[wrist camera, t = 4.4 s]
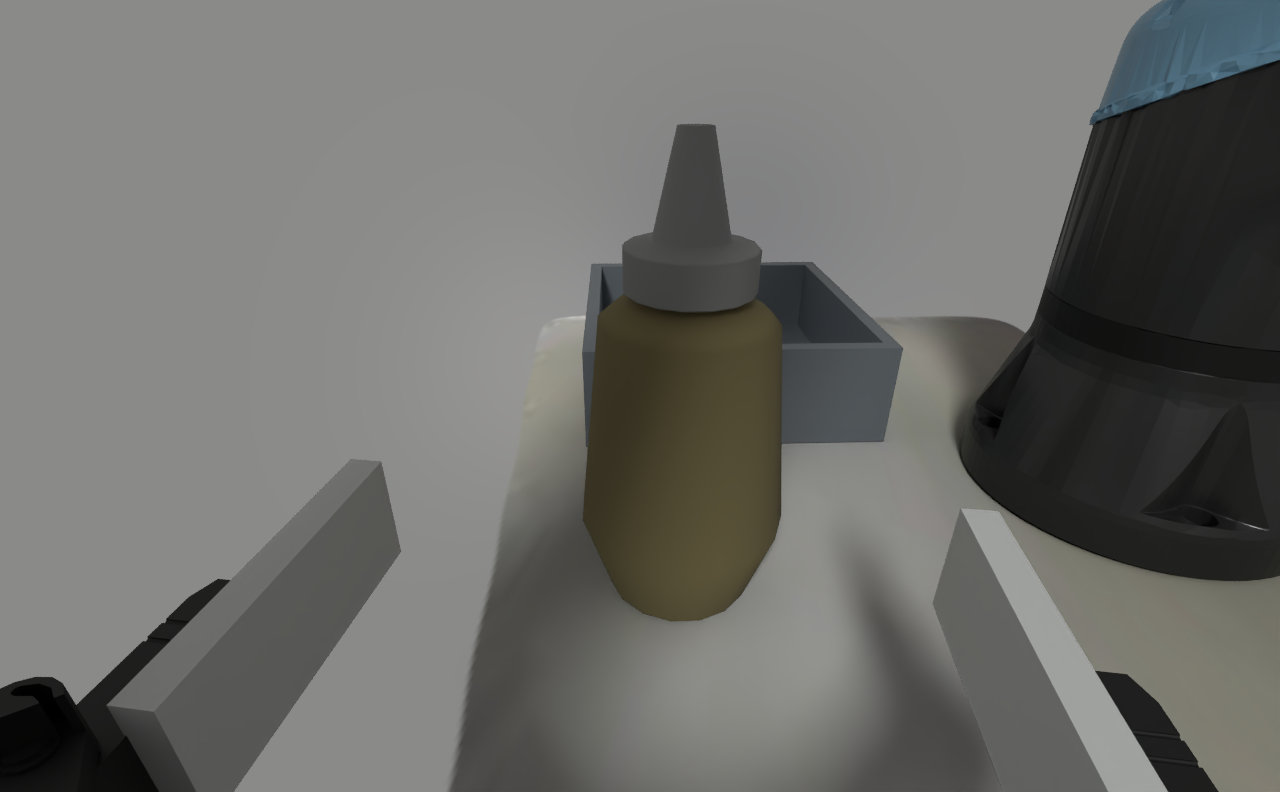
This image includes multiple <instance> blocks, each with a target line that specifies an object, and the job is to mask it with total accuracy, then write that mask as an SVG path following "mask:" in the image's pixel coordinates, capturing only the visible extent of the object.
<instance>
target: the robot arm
mask: <svg viewBox="0 0 1280 792" xmlns="http://www.w3.org/2000/svg"><path fill="white" fill-rule="evenodd" d="M1089 125H1093V128H1092V131H1091V135H1090V138H1089V141H1088V145H1087V148H1086V151H1085V155H1084V158H1083V161H1082V164H1081V168H1080V171H1079V174H1078V178H1077V181H1076V184H1075V188H1074V191H1073V194H1072V198H1071V201H1070V204H1069V207H1068V211H1067V214H1066V217H1065V221H1064V224H1063V227H1062V231H1061V234H1060V237H1059V241H1058V244H1057V247H1056V250H1055V254H1054V257H1053V260H1052V264H1051V267H1050V270H1049V274H1048V277H1047V280H1046V284H1045V288H1044V291H1043V294H1042V297H1041V301H1040V304H1039V307H1038V310H1037V313H1036V316H1035V319H1034V321H1033V323H1032V325H1031V327H1030V328H1029V330H1028V331H1027V332H1026V334H1025V335H1024V336H1023V338H1022V339H1021V340H1020V342H1019V343H1018V344H1017V346H1016V347H1015V348H1014V350H1013V351H1012V353H1011V354H1010V355H1009V357H1008V358H1007V359H1006V361H1005V362H1004V363H1003V365H1002V366H1001V367H1000V369H999V370H998V371H997V373H996V374H995V375H994V377H993V378H992V379H991V381H990V382H989V383H988V385H987V386H986V388H985V389H984V390H983V392H982V393H981V394H980V396H979V397H978V398H977V400H976V401H975V402H974V404H973V406H972V408H971V410H970V413H969V416H968V419H967V423H966V427H965V430H964V434H963V437H962V441H961V455H962V459H963V461H964V463H965V465H966V467H967V469H968V471H969V472H970V474H971V475H972V476H973V478H974V479H975V480H976V481H977V482H978V483H979V484H980V486H981V487H983V488H984V489H985V490H986V491H987V492H988V493H989V494H990V495H991V496H992V497H994V498H995V499H996V500H997V501H999V502H1000V503H1001V504H1002V505H1004V506H1005V507H1007V508H1008V509H1009V510H1011V511H1012V512H1014V513H1015V514H1017V515H1019V516H1020V517H1022V518H1023V519H1025V520H1027V521H1028V522H1030V523H1032V524H1034V525H1035V526H1037V527H1039V528H1041V529H1043V530H1045V531H1047V532H1049V533H1051V534H1053V535H1055V536H1057V537H1059V538H1061V539H1063V540H1066V541H1068V542H1070V543H1072V544H1075V545H1077V546H1079V547H1082V548H1084V549H1087V550H1089V551H1092V552H1095V553H1097V554H1100V555H1103V556H1106V557H1109V558H1112V559H1115V560H1118V561H1121V562H1125V563H1128V564H1131V565H1135V566H1139V567H1142V568H1146V569H1150V570H1154V571H1159V572H1163V573H1168V574H1173V575H1178V576H1185V577H1191V578H1199V579H1207V580H1221V581H1249V580H1260V579H1266V578H1272V577H1276V576H1280V0H1162V1H1161V2H1159V3H1158V4H1156V5H1154V6H1153V7H1152V8H1150V9H1149V10H1148V11H1147V12H1146V13H1145V14H1144V15H1143V16H1141V17H1140V18H1139V20H1138V21H1137V22H1136V23H1135V24H1134V25H1133V27H1132V28H1131V30H1130V31H1129V33H1128V35H1127V36H1126V39H1125V40H1124V43H1123V45H1122V47H1121V50H1120V53H1119V56H1118V58H1117V61H1116V64H1115V67H1114V69H1113V72H1112V74H1111V77H1110V80H1109V83H1108V85H1107V88H1106V91H1105V93H1104V96H1103V99H1102V101H1101V104H1100V107H1099V109H1098V110H1097V111H1096V112H1094V113H1093V115H1092V117H1091V120H1090V124H1089ZM400 552H401V549H400V545H399V540H398V535H397V531H396V526H395V522H394V517H393V513H392V509H391V503H390V499H389V494H388V490H387V485H386V481H385V477H384V472H383V467H382V463H381V462H380V461H367V460H354V459H351V460H350V461H349V462H348V463H347V464H346V465H345V466H344V467H343V468H342V469H341V470H340V471H339V472H338V473H337V474H336V475H335V476H334V477H333V478H332V479H331V480H330V481H329V482H328V483H327V484H326V485H325V486H324V487H323V488H322V489H321V490H320V491H319V492H318V493H317V494H316V495H315V496H314V497H313V498H312V499H311V500H310V501H309V502H308V503H307V504H306V505H305V506H304V507H303V508H302V509H301V510H300V511H299V512H298V513H297V514H296V515H295V516H294V517H293V518H292V519H291V520H290V521H289V522H288V523H287V524H286V525H285V526H284V527H283V528H282V529H281V530H280V531H279V532H278V533H277V534H276V535H275V536H274V537H273V538H272V539H271V540H270V541H269V542H268V544H266V545H265V547H263V548H262V550H260V552H258V553H257V554H256V555H255V556H254V557H253V559H251V561H249V562H248V563H247V564H246V565H245V567H244V568H243V569H242V570H241V571H240V572H239V573H238V574H237V575H236V576H235V577H234V578H233V579H232V580H223V579H217V580H216V581H214V582H212V583H211V584H209V585H208V586H206V587H204V588H203V589H201V590H200V591H198V592H196V593H195V594H193V595H191V596H190V597H189V598H188V599H186V600H185V601H184V602H183V603H182V604H181V605H180V606H179V607H178V608H177V609H176V610H175V611H174V612H173V613H172V614H171V615H170V616H169V617H168V618H167V619H166V622H165V623H161V625H159V626H158V628H156V629H155V630H154V631H153V632H152V633H151V634H150V635H149V636H148V640H147V641H146V642H145V641H143V642H142V643H141V644H139V645H138V647H136V648H135V649H134V650H133V652H131V653H130V654H129V655H128V656H127V657H126V658H125V659H124V660H123V661H122V662H121V663H120V664H119V665H118V666H117V667H116V668H115V669H113V670H112V671H111V672H110V674H108V675H107V676H106V677H105V678H104V679H103V680H102V681H101V682H100V683H99V684H98V685H97V686H96V687H95V688H94V689H93V690H92V691H91V692H89V693H88V694H87V695H86V696H85V697H84V698H83V699H82V700H81V701H80V702H79V703H78V704H77V705H76V704H75V703H74V701H73V699H72V698H71V697H70V695H69V693H68V691H67V690H66V688H65V687H64V685H63V683H61V682H60V681H58V680H56V679H55V678H53V677H34V678H30V679H26V680H22V681H18V682H14V683H12V684H10V685H8V686H5V687H3V688H1V689H0V792H233V791H234V790H235V789H236V788H237V786H238V784H239V783H240V782H241V780H242V779H243V777H244V776H245V775H246V773H247V772H248V770H249V769H250V767H251V766H252V765H253V763H254V762H255V760H256V759H257V757H258V756H259V754H260V753H261V751H262V750H263V749H264V747H265V746H266V744H267V743H268V742H269V740H270V738H271V737H272V736H273V734H274V733H275V732H276V730H277V729H278V727H279V726H280V724H281V723H282V722H283V720H284V719H285V717H286V716H287V714H288V713H289V712H290V710H291V709H292V707H293V706H294V704H295V703H296V701H297V700H298V699H299V697H300V696H301V694H302V693H303V691H304V690H305V688H306V687H307V686H308V684H309V683H310V681H311V680H312V679H313V677H314V676H315V674H316V673H317V671H318V670H319V668H320V667H321V666H322V664H323V663H324V661H325V660H326V658H327V657H328V656H329V654H330V652H331V651H332V650H333V648H334V647H335V645H336V644H337V643H338V641H339V640H340V638H341V637H342V635H343V634H344V633H345V631H346V630H347V628H348V627H349V625H350V624H351V623H352V621H353V619H354V618H355V617H356V615H357V614H358V612H359V611H360V610H361V608H362V607H363V605H364V604H365V602H366V601H367V600H368V598H369V597H370V595H371V594H372V592H373V591H374V590H375V588H376V587H377V585H378V584H379V582H380V581H381V580H382V578H383V577H384V575H385V574H386V572H387V571H388V569H389V568H390V567H391V565H392V564H393V562H394V561H395V559H396V558H397V557H398V555H399V554H400ZM933 606H934V608H935V611H936V614H937V616H938V619H939V622H940V624H941V627H942V630H943V632H944V635H945V638H946V640H947V643H948V646H949V648H950V651H951V654H952V657H953V659H954V662H955V665H956V667H957V670H958V673H959V675H960V678H961V681H962V683H963V686H964V689H965V691H966V694H967V697H968V699H969V702H970V705H971V707H972V710H973V713H974V715H975V718H976V721H977V723H978V726H979V729H980V731H981V734H982V737H983V739H984V742H985V745H986V747H987V750H988V753H989V755H990V758H991V761H992V763H993V766H994V769H995V771H996V774H997V777H998V779H999V782H1000V785H1001V787H1002V790H1003V792H1218V790H1217V789H1216V787H1215V786H1214V784H1213V783H1212V781H1211V780H1210V778H1209V777H1208V775H1207V774H1206V772H1205V771H1204V770H1203V768H1199V766H1198V763H1197V762H1198V761H1197V759H1196V758H1195V756H1194V755H1193V753H1192V752H1191V750H1190V749H1189V747H1188V746H1187V744H1186V743H1185V741H1181V739H1180V734H1179V732H1178V731H1177V729H1176V728H1175V727H1174V725H1173V724H1172V722H1171V721H1170V719H1169V718H1168V716H1167V715H1166V713H1165V712H1164V710H1163V709H1162V707H1161V706H1160V704H1159V703H1158V702H1157V701H1156V700H1155V699H1154V698H1153V697H1151V696H1150V695H1149V694H1148V693H1147V692H1146V691H1145V690H1144V689H1143V688H1142V687H1140V686H1139V685H1138V684H1137V683H1136V682H1135V681H1134V680H1133V679H1132V678H1130V677H1129V676H1128V675H1127V674H1119V673H1109V672H1100V671H1095V670H1094V669H1093V667H1092V665H1091V664H1090V662H1089V660H1088V659H1087V657H1086V655H1085V654H1084V652H1083V650H1082V649H1081V647H1080V645H1079V644H1078V642H1077V640H1076V639H1075V637H1074V635H1073V634H1072V632H1071V630H1070V629H1069V627H1068V625H1067V624H1066V622H1065V621H1064V619H1063V617H1062V616H1061V614H1060V612H1059V611H1058V609H1057V607H1056V606H1055V604H1054V602H1053V601H1052V599H1051V597H1050V596H1049V594H1048V592H1047V591H1046V589H1045V587H1044V586H1043V584H1042V582H1041V581H1040V579H1039V577H1038V576H1037V574H1036V573H1035V571H1034V569H1033V568H1032V566H1031V564H1030V563H1029V561H1028V559H1027V558H1026V556H1025V554H1024V553H1023V551H1022V549H1021V548H1020V546H1019V544H1018V543H1017V541H1016V539H1015V538H1014V536H1013V534H1012V533H1011V531H1010V529H1009V528H1008V526H1007V524H1006V523H1005V521H1004V520H1003V518H1002V516H1001V515H1000V513H999V511H989V510H977V509H964V508H961V509H960V512H959V515H958V519H957V522H956V526H955V529H954V532H953V536H952V539H951V543H950V546H949V549H948V553H947V556H946V560H945V563H944V566H943V570H942V573H941V577H940V580H939V583H938V587H937V590H936V594H935V597H934V600H933Z"/></svg>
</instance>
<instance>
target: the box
mask: <svg viewBox="0 0 1280 792" xmlns="http://www.w3.org/2000/svg"><path fill="white" fill-rule="evenodd" d="M621 295H623V264H592V265H591V275H590V284H589V294H588V303H587V313H586V322H585V331H584V341H583V350H582V356H583V380H584V404H585V427H586V447H588V440H589V427H590V413H591V400H592V386H593V373H594V359H595V346H596V332H597V319H598V314H600V313H601V312H602V311H603V310H604V309H605V308H607V307H608V306H609V305H610V304H611V303H613V302H614V301H615V300H616V299H618V298H619V297H620V296H621ZM755 299H757V300H759V301H761V302H763V303H764V304H765V305H766V306H767V307H768V308H769V309H770V310H771V311H772V312H773V313H774V314H775V316H776V317H777V319H778V320H779V321H780V323H781V324H782V433H781V443H818V442H872V441H884V436H885V431H886V427H887V422H888V417H889V412H890V408H891V403H892V398H893V393H894V389H895V384H896V379H897V374H898V370H899V365H900V360H901V356H902V351H903V347H902V346H901V345H899V344H898V343H897V342H896V341H895V340H894V339H893V338H892V337H891V336H890V335H889V334H888V333H887V332H886V331H885V330H884V329H883V328H881V327H880V326H879V325H878V324H877V323H876V322H875V321H874V320H873V319H872V318H871V317H870V316H869V315H868V314H867V313H865V312H864V311H863V310H862V309H861V308H860V307H859V306H858V305H857V304H856V303H855V302H854V301H853V300H852V299H851V298H849V296H848V295H846V294H845V293H844V292H843V291H842V290H841V289H840V288H839V287H838V286H837V285H836V284H835V283H834V282H833V281H832V280H831V279H829V278H828V277H827V276H826V275H825V274H824V273H823V272H822V271H821V270H820V269H819V268H818V267H817V266H816V265H815V264H814V263H813V262H774V263H773V262H772V263H761V267H760V278H759V289H758V293H757V295H756V296H755Z"/></svg>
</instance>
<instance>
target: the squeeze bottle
mask: <svg viewBox="0 0 1280 792" xmlns="http://www.w3.org/2000/svg"><path fill="white" fill-rule="evenodd" d="M761 256H762V250H761V249H760V247H759V246H758V245H757V244H756V243H755V242H754V241H752V240H749V239H746V238H744V237H741V236H737V235H732V234H731V231H730V225H729V218H728V211H727V204H726V197H725V190H724V183H723V176H722V169H721V162H720V155H719V148H718V141H717V135H716V127H715V125H709V124H681V125H677V128H676V132H675V137H674V141H673V146H672V150H671V155H670V159H669V164H668V168H667V173H666V177H665V182H664V186H663V190H662V195H661V199H660V204H659V208H658V213H657V217H656V222H655V226H654V231H653V232H652V233H647V234H643V235H639V236H635V237H633V238H631V239H629V240H628V241H626V242H624V244H623V245H622V260H623V262H622V263H623V295H621V296H620V297H619V298H618V299H616V300H615V301H614V302H613V303H611V304H610V305H609V306H608V307H607V308H605V309H604V310H603V311H602V312H601V313H600V314H598V319H597V332H596V346H595V359H594V373H593V386H592V400H591V413H590V427H589V440H588V454H587V467H586V481H585V494H584V511H583V521H584V523H585V526H586V528H587V530H588V532H589V534H590V536H591V538H592V540H593V542H594V545H595V547H596V549H597V551H598V553H599V555H600V557H601V559H602V561H603V564H604V566H605V568H606V570H607V572H608V574H609V576H610V578H611V580H612V582H613V584H614V586H615V587H616V589H617V591H618V592H619V594H620V596H621V597H622V599H623V600H625V601H626V602H628V603H629V604H630V605H632V606H633V607H635V608H636V609H638V610H639V611H640V612H642V613H643V614H647V615H650V616H654V617H658V618H661V619H665V620H668V621H691V620H702V619H704V618H707V617H710V616H712V615H715V614H718V613H720V612H723V611H725V610H726V609H727V608H728V607H729V606H730V605H731V604H732V603H733V602H734V601H735V600H736V599H738V598H739V597H740V596H741V594H742V593H743V591H744V589H745V588H746V586H747V584H748V583H749V581H750V579H751V578H752V576H753V574H754V573H755V571H756V569H757V568H758V566H759V565H760V563H761V561H762V560H763V558H764V556H765V555H766V553H767V551H768V550H769V548H770V546H771V545H772V543H773V541H774V540H775V536H776V532H777V528H778V525H779V521H780V517H781V433H782V324H781V323H780V321H779V320H778V319H777V317H776V316H775V314H774V313H773V312H772V311H771V310H770V309H769V308H768V307H767V306H766V305H765V304H764V303H763V302H761V301H759V300H757V299H755V296H756V295H757V293H758V289H759V278H760V267H761Z"/></svg>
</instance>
